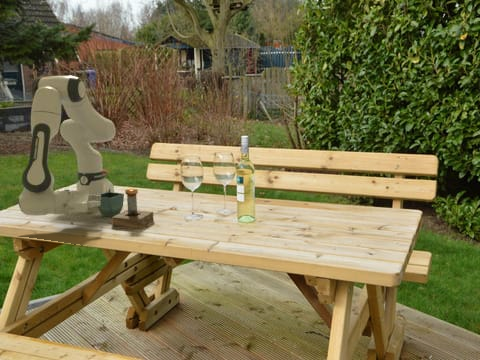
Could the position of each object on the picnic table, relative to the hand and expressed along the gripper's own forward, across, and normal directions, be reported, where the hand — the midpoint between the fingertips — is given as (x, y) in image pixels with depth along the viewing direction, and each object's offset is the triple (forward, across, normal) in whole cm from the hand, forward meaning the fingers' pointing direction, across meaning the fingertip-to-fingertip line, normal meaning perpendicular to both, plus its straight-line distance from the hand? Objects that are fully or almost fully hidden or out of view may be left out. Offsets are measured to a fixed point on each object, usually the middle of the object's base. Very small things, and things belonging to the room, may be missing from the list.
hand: (100, 200), depth 211 cm
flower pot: (+3, +16, +11) cm, 20 cm away
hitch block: (+12, 0, +11) cm, 16 cm away
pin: (+12, 0, +10) cm, 15 cm away
